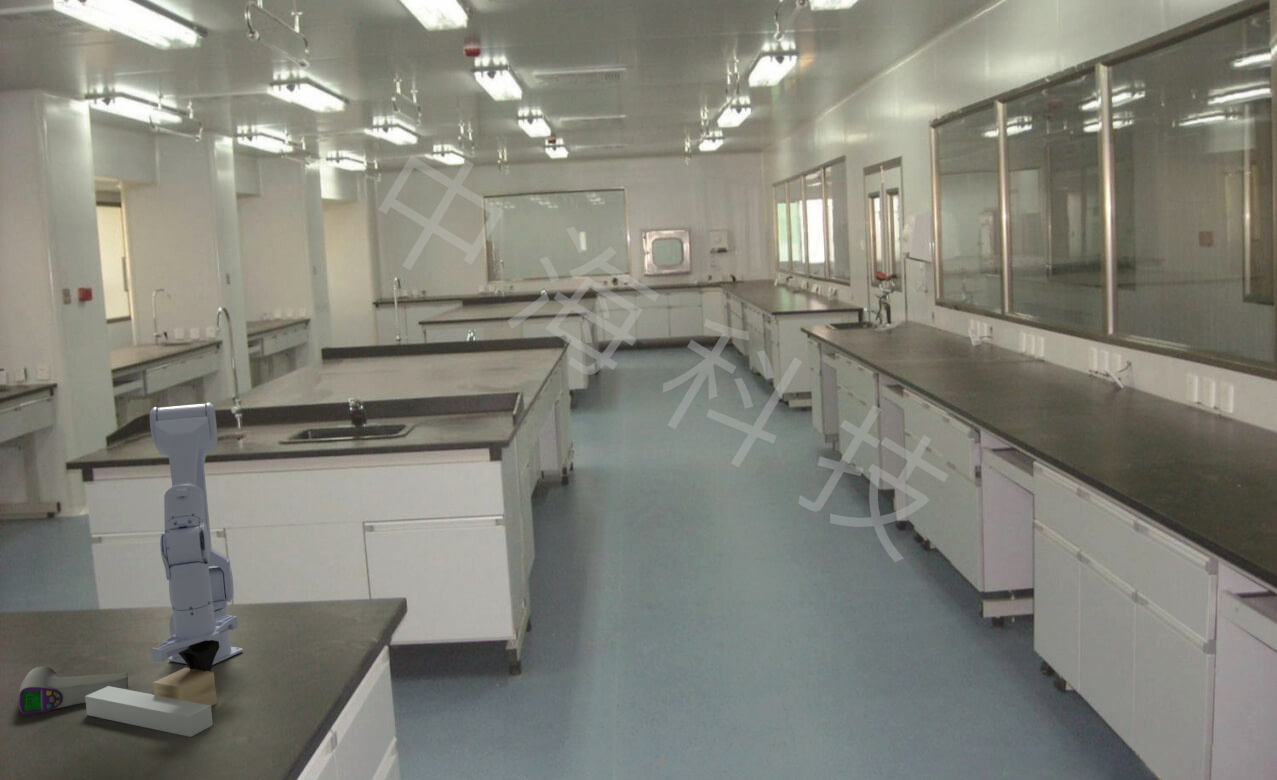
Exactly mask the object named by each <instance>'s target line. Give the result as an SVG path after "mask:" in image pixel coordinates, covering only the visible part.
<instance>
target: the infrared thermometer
mask: <svg viewBox="0 0 1277 780" xmlns="http://www.w3.org/2000/svg"><path fill="white" fill-rule="evenodd" d="M128 676H129V675H128V672H127V671H125V672H119V673H105V674H104V673H103V674H89V675H80V676H59V675H58V674H57V672H56V671H55V669H53V668H52V667H48V666H37V667H35V668H32V669H31V670H30V671H29V672H28V673H27V675H25V677H24V679H23V681H22V682H21V684H20V688H19V692H18V707H19V711H20V713H21V714H23V715H24V716H25V715H26V716H27V715H33V714H41V713H47V712H51V711H53V710H57V709H60V708H65V707H70V706H75V705H79V704H84V703H85V704H86V700H85V696H87V695H89V694H91V693H94V692H96V691H98V690H100V689H103V688H105V687H107V686H111V687H116V688H121V689H127V690H129V681H128V678H129V677H128Z"/></svg>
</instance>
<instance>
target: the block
mask: <svg viewBox="0 0 1277 780" xmlns="http://www.w3.org/2000/svg"><path fill="white" fill-rule="evenodd" d="M214 673H215V672H214V671H212V670H211V671H205V672H204V671H203V670H197V669H190V668H189V667H183V668H182V669H179V670H177V671H175V672H173V673H171V674H168V675H165V676H164V677H162V678H160V679H157V680H156V681H153V682H152V684H153V685H152V686H153V692H154V693H153V695H158V696H163V697H168V698H174V699H179V700H184V701H190V702H195V703H200V704H205V705H211V707H213V706H215V705H216V704H218V699H217V689H216V681H215V680H216V679H215V674H214Z"/></svg>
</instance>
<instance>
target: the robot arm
mask: <svg viewBox="0 0 1277 780" xmlns="http://www.w3.org/2000/svg"><path fill="white" fill-rule="evenodd" d="M216 417H217V416H216V409H215V406H214V404H212V403H211V402H210V401H209V402H206V403H196V404H187V405H186V404H184V405H183V404H182V405H175V406H161V407H158V406H153V407H152V408H151V410H150V412H149V425H150V426H149V428H150V434H151V439H152V441H153V443H154V445H155V447H156V450H157V451H158V452H159V454H160V455H162V456H165V457H166V456H167V457H168V461H169V462H168V463H169V471H170V480H171V485H172V486H171V487H170V488H169V489H167V490H166V492H165V493H164V499H163V500H164V501H163V503H164V505H163V507H164V509H163V511H164V515H163V516H164V533H161V534H160V539H159V544H160V545H159V547H160V555H161V556H160V557H161V559H162V563H163V566H164V569H165V570H164V571H165V577H166V580H167V581H168V590H169V593H168V594H169V600H170V604H171V608H172V614H171V616H170V619H169V624H168V625H169V627H168V628H169V634H170V637H167V638H166V640H164V641H163V642H161V643H160V644H158V645H155V646H154V647H152V648H151V652H152V653H151V654H152V661H155V662H160V663H164V662H166V661H168V662H172V663H180V664H185V665H187V667H188V668H190V669H197V670H203V671H204V672H205V671H211V672H212V667H213V666H214V665H216V664H218V663H220V662H223V661H224V660H227V659H229V658H231V657H233V656H235V655H238V654H240V653H242V652H243V650H244V649H243V648H242V647H238V646H237V647H235V646H232V643H231V635H230V630H231V631H233V630H236V629H238V628H239V625H238V624H239V623H238V617H237V615H235V616H234V615H229V614H228V603H230V602H232V600H233V599H234V597H235V596H234V595H235V591H234V579H233V571H232V567H231V560H230V558H229V557H228V556H227V555H226V554H225V553H222V552H220V551H219V550H217V549H215V548H213V547H212V536H211V528H210V517H209V516H210V515H209V507H208V506H209V505H208V496H207V495H208V493H207V484H206V474H205V473H206V472H205V462H206V458H207V454H208V453H210V452H212V451H214V450H216V449H217V445H218V432H217V431H218V429H217V428H218V427H217V418H216ZM209 567H211V568H209Z"/></svg>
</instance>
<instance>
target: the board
mask: <svg viewBox="0 0 1277 780" xmlns="http://www.w3.org/2000/svg"><path fill="white" fill-rule="evenodd" d="M85 700H86V703H85V707H86V715H87V716H90V717H94V718H95V717H96V718H99V719H104V720H108V721H109V720H110V721H114V722H118V723H122V724H127V725H132V726H136V727H141V728H145V729H152V730H156V731H161V732H167V733H170V734H175V735H180V736H184V737H189V738H191V737H194V736H196V735H197V734H199V733H201V732H203V731H205V730H207V729H208V728H211V727H213V725H214V724H213V723H214V721H213V713H212V706H211V705H205V704H200V703H195V702H190V701H184V700H179V699H174V698H168V697H163V696H158V695H154V693H147V692H142V691H136V690H131V689H128V690H127V689H121V688H116V687H111V686H107V687H105V688H103V689H100V690H98V691H96V692H94V693H91V694H89V695H87V696H85Z"/></svg>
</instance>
